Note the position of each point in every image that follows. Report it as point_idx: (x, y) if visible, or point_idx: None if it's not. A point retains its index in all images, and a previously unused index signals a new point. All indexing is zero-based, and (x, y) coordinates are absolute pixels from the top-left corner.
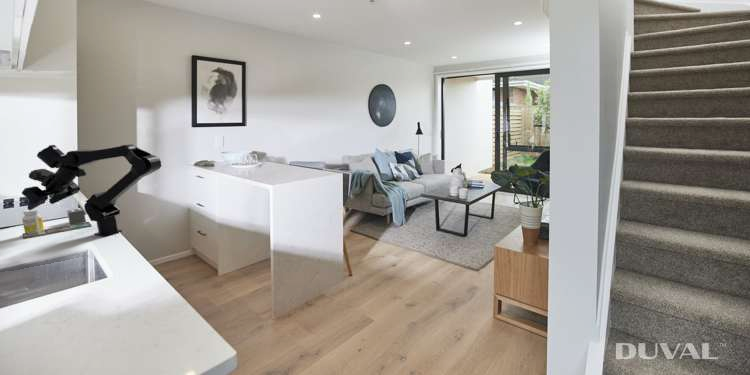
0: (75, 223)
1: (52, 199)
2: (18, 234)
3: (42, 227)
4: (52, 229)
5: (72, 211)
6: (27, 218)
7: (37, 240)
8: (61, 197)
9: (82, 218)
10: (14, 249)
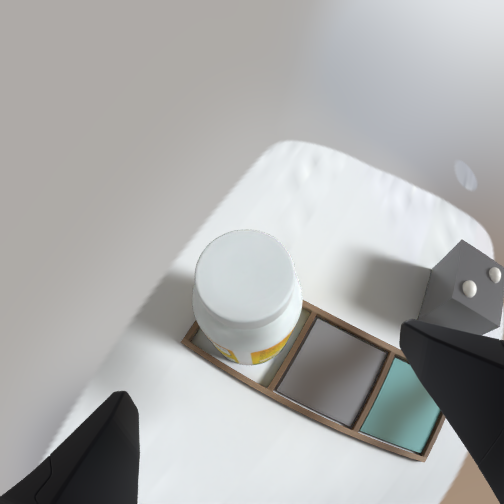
0: None
1: (431, 353)
2: None
3: (271, 355)
4: (332, 331)
5: (469, 296)
6: (197, 320)
7: (178, 439)
8: (478, 441)
9: None
10: None
